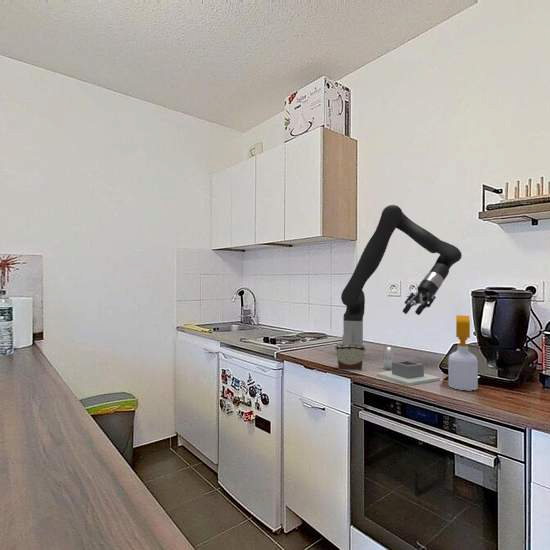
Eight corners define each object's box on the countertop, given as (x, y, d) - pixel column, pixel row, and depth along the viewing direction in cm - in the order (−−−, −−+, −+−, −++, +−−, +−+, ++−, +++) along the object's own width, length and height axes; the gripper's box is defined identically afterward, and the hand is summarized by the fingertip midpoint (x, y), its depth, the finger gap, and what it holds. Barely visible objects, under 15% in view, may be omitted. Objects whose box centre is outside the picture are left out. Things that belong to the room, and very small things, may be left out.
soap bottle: (476, 385, 134) (476, 315, 134) (478, 392, 126) (478, 317, 126) (448, 382, 138) (448, 314, 138) (448, 389, 130) (448, 316, 130)
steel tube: (381, 368, 160) (381, 346, 160) (388, 367, 162) (388, 346, 162) (388, 370, 156) (388, 348, 156) (395, 369, 158) (395, 347, 158)
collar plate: (376, 375, 148) (376, 361, 148) (406, 371, 155) (406, 357, 155) (408, 385, 134) (408, 369, 134) (440, 380, 141) (440, 365, 141)
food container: (363, 367, 162) (363, 343, 162) (365, 370, 156) (365, 345, 156) (334, 366, 163) (334, 342, 163) (334, 369, 157) (334, 345, 157)
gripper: (414, 279, 174) (394, 307, 170) (436, 278, 160) (415, 308, 156) (425, 290, 175) (405, 317, 171) (447, 290, 162) (427, 319, 158)
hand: (410, 313), depth 164 cm, fingers open, 8 cm apart
